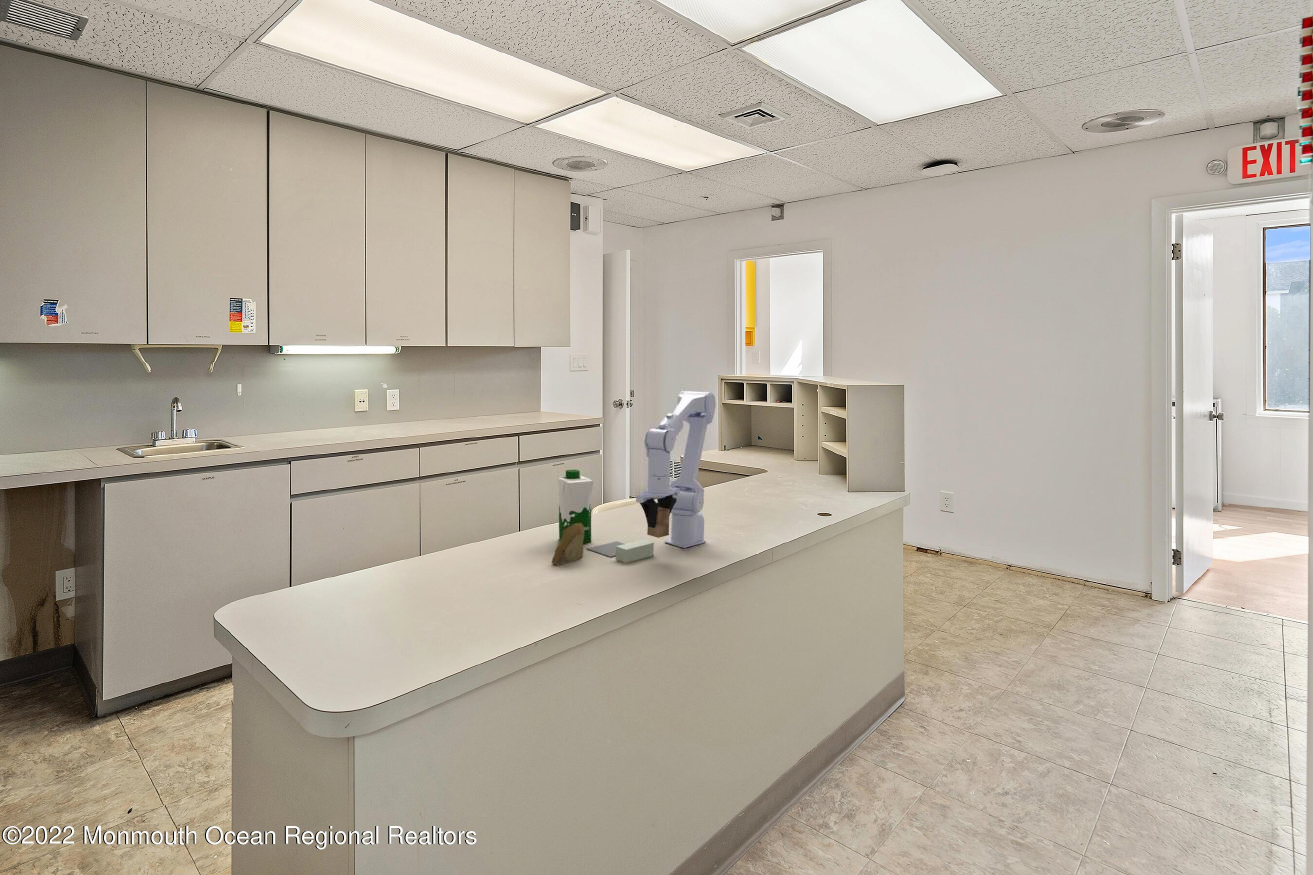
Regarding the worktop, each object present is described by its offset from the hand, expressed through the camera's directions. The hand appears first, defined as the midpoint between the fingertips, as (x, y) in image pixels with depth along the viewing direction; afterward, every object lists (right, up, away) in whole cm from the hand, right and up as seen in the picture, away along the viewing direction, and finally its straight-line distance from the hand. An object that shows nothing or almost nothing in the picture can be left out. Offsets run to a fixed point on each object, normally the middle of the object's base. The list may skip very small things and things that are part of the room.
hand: (657, 525), depth 181 cm
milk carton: (-24, -7, +16) cm, 30 cm away
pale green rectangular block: (-6, -9, +2) cm, 11 cm away
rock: (-24, -9, -2) cm, 25 cm away
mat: (-12, -8, +8) cm, 17 cm away
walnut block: (0, -3, 0) cm, 3 cm away
